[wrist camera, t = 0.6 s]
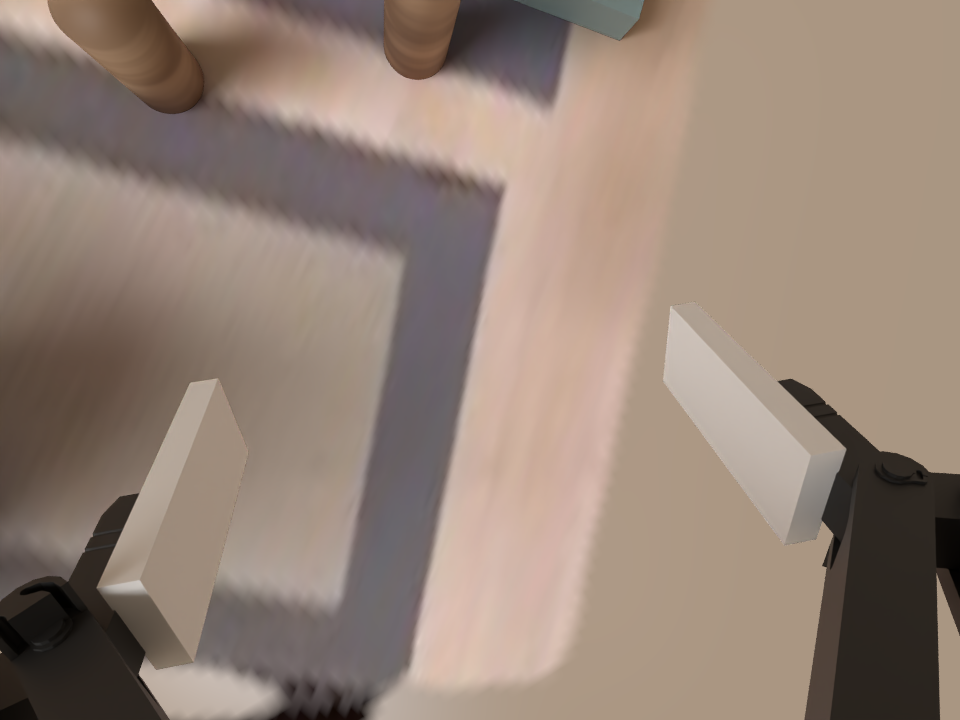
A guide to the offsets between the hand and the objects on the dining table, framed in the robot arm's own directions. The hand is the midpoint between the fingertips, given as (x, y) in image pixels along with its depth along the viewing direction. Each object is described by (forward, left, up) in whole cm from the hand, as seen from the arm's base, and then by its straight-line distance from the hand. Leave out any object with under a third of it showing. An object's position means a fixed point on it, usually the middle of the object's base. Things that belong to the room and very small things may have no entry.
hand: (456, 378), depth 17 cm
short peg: (-19, -10, -22) cm, 31 cm away
